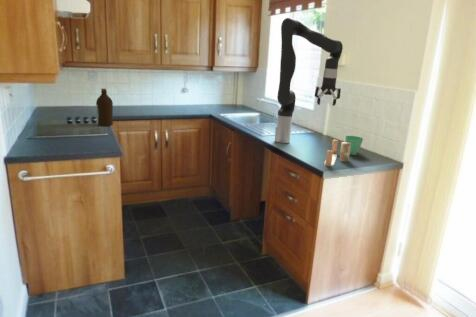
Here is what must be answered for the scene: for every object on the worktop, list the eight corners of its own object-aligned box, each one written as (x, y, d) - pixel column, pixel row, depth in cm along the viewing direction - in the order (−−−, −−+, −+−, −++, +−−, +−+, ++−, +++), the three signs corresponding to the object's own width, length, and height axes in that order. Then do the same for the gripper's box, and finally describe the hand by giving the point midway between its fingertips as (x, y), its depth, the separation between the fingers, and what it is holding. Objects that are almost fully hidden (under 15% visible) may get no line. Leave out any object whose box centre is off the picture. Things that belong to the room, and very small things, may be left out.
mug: (360, 157, 210) (363, 140, 207) (343, 154, 213) (345, 138, 210) (360, 151, 224) (362, 135, 221) (343, 149, 226) (346, 133, 224)
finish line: (322, 165, 189) (324, 151, 187) (329, 152, 217) (331, 139, 215) (332, 167, 188) (334, 152, 185) (338, 153, 216) (340, 140, 213)
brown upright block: (338, 161, 200) (341, 143, 197) (339, 158, 204) (342, 141, 201) (348, 162, 198) (350, 144, 195) (348, 160, 203) (351, 142, 200)
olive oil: (114, 123, 258) (113, 88, 251) (112, 126, 248) (111, 89, 241) (98, 123, 256) (96, 87, 249) (96, 126, 246) (94, 89, 239)
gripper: (340, 77, 209) (336, 105, 214) (316, 75, 209) (312, 103, 214) (344, 78, 202) (339, 107, 207) (318, 76, 202) (314, 105, 207)
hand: (326, 105), depth 211 cm, fingers open, 8 cm apart
